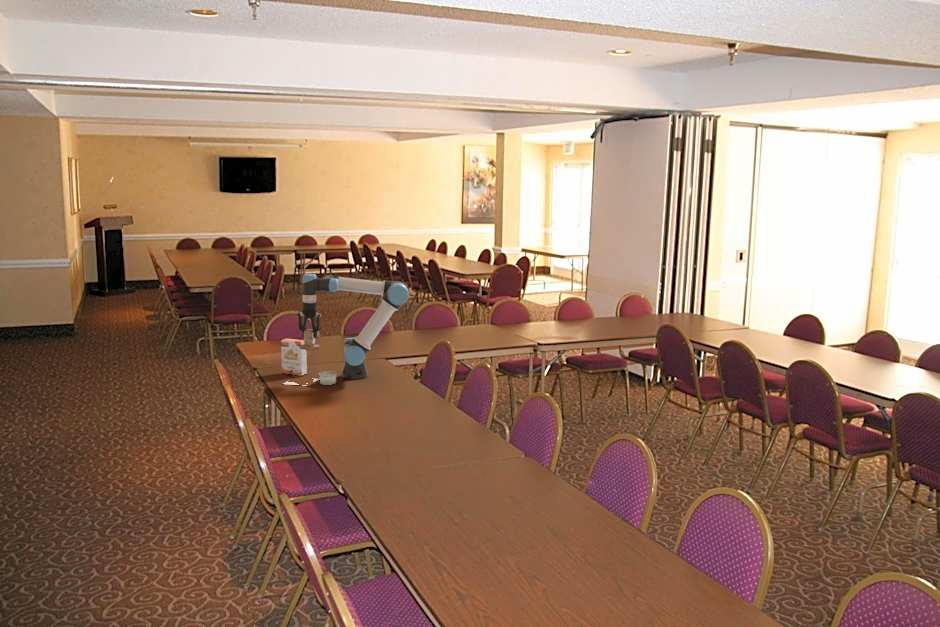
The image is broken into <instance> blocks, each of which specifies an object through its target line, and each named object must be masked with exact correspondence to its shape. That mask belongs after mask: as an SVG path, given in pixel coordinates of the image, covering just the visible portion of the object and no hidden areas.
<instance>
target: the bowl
mask: <svg viewBox="0 0 940 627" xmlns="http://www.w3.org/2000/svg"><path fill="white" fill-rule="evenodd" d="M337 375H338V373H337V371H333V370H325V371H320V372H318V376H319V379H320V381H319V384H320V385H322V384H323V385H332V384H334V385H335V384H336V383H337ZM323 385H322V386H323ZM332 386H333V385H332Z"/></svg>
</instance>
